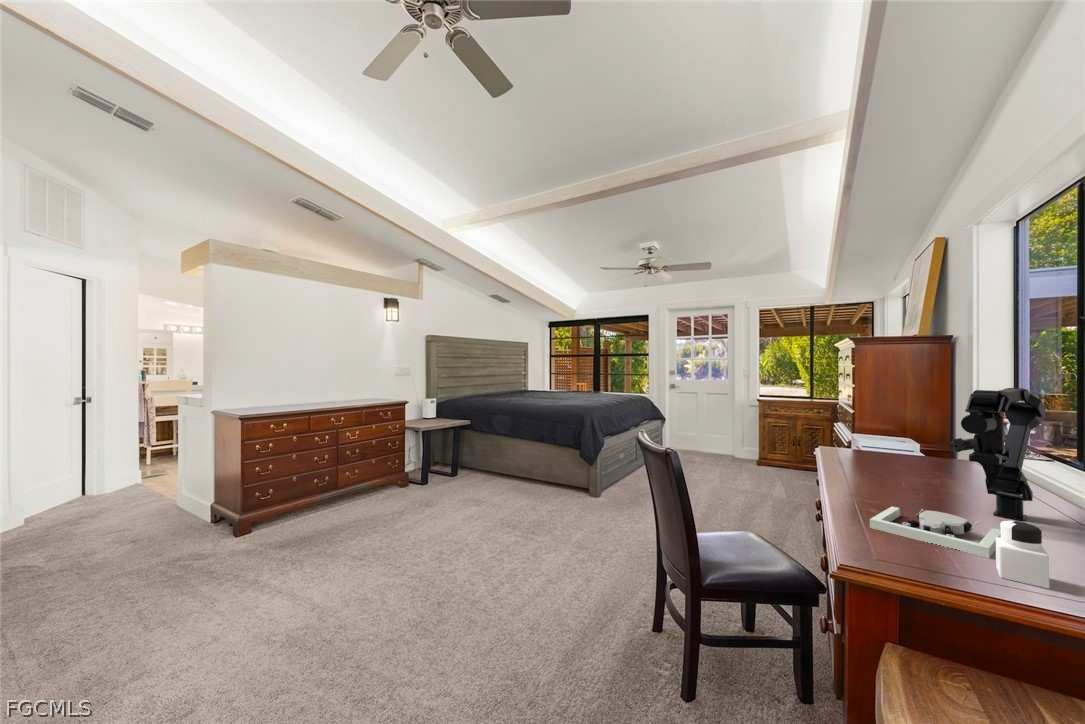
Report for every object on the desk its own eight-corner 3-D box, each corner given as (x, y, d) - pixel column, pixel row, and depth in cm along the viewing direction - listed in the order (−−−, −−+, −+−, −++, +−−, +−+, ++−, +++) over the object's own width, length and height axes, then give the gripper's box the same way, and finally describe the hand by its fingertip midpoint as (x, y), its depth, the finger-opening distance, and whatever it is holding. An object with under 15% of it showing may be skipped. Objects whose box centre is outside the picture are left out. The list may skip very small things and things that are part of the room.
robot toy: (956, 549, 109) (979, 535, 116) (955, 532, 109) (978, 519, 116) (899, 533, 120) (923, 520, 127) (898, 517, 120) (922, 506, 127)
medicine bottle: (1043, 577, 93) (1042, 523, 93) (1049, 589, 87) (1048, 532, 88) (995, 566, 98) (995, 515, 98) (999, 578, 92) (998, 523, 93)
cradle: (892, 514, 133) (891, 506, 133) (1003, 539, 113) (1003, 530, 113) (869, 527, 121) (869, 519, 121) (989, 558, 102) (988, 548, 102)
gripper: (960, 425, 138) (961, 472, 138) (945, 431, 127) (946, 482, 127) (1011, 429, 129) (1012, 480, 128) (998, 436, 118) (999, 490, 118)
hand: (991, 482), depth 126 cm, fingers closed
